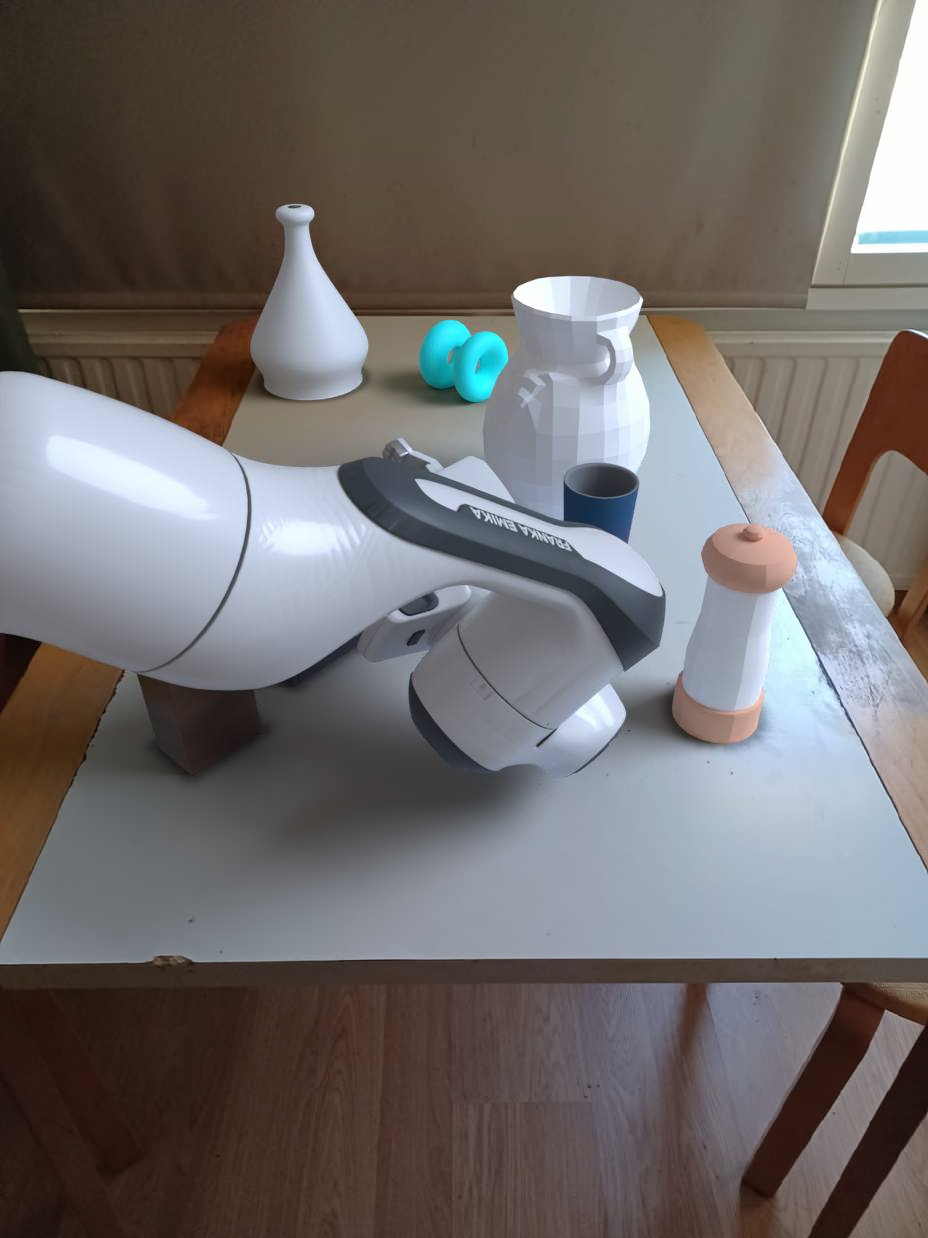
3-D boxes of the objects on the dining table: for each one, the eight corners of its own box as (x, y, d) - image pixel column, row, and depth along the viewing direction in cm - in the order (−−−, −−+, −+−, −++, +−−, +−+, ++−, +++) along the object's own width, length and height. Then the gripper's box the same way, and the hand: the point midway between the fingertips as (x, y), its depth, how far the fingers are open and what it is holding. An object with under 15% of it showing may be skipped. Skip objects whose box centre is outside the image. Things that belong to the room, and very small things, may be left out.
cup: (627, 634, 88) (644, 498, 79) (556, 633, 88) (566, 498, 79) (618, 593, 93) (634, 462, 84) (552, 593, 93) (560, 461, 84)
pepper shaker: (687, 679, 83) (722, 493, 71) (767, 706, 80) (817, 517, 68) (659, 727, 78) (691, 536, 66) (742, 758, 75) (792, 564, 63)
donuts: (463, 374, 140) (462, 310, 134) (511, 392, 134) (513, 326, 128) (416, 394, 134) (413, 327, 128) (464, 413, 129) (464, 344, 123)
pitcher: (672, 520, 105) (706, 302, 90) (541, 566, 97) (554, 337, 82) (576, 457, 118) (591, 257, 103) (453, 493, 110) (450, 283, 95)
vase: (237, 400, 133) (206, 218, 118) (281, 357, 146) (259, 189, 131) (350, 410, 130) (333, 225, 115) (384, 365, 143) (374, 194, 128)
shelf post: (193, 779, 73) (116, 495, 57) (158, 749, 76) (76, 470, 60) (262, 733, 77) (209, 457, 62) (227, 707, 80) (167, 436, 64)
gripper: (558, 517, 74) (449, 398, 76) (376, 632, 62) (253, 486, 64) (526, 559, 79) (425, 446, 81) (351, 673, 67) (239, 536, 69)
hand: (347, 464), depth 73 cm, fingers open, 8 cm apart
